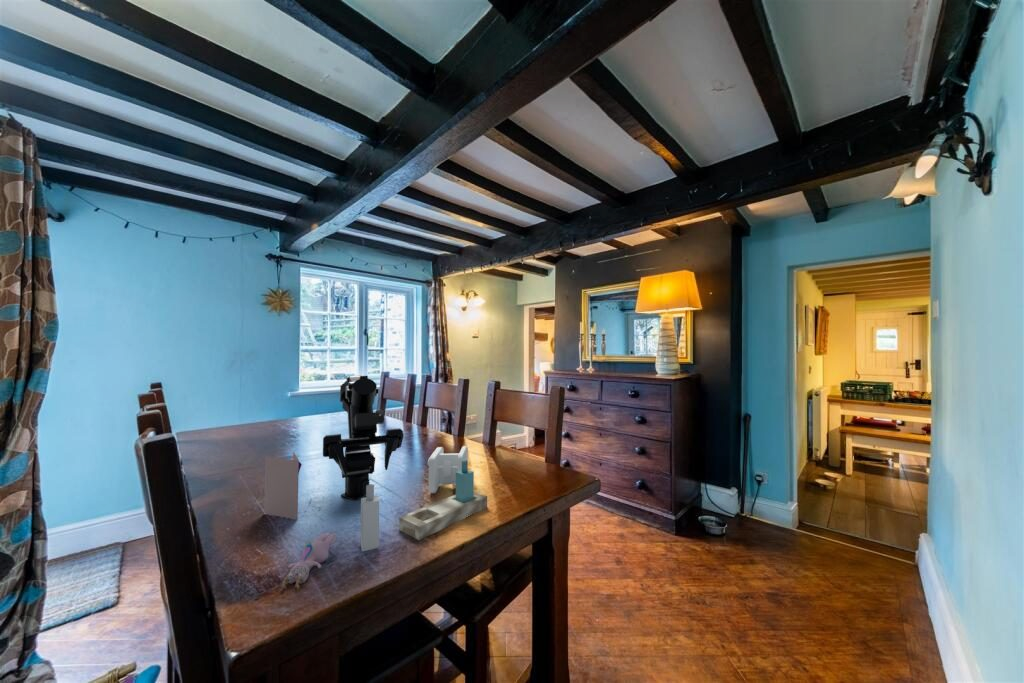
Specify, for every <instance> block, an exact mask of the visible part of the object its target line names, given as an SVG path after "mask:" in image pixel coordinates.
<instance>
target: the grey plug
mask: <svg viewBox="0 0 1024 683" xmlns="http://www.w3.org/2000/svg"><path fill="white" fill-rule="evenodd" d="M360 547H361V548H360V550H361V552H362V553H363V552H366V551H371V550H374V549H380V499H379V497H378V495H375V484H372V483H369V485H367V486H366V497H365V496H364V497H361V498H360Z"/></svg>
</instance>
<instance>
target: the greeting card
mask: <svg viewBox="0 0 1024 683" xmlns="http://www.w3.org/2000/svg"><path fill="white" fill-rule="evenodd" d="M264 460H265V461H264V464H265V466H264V467H265V470H264V502H263V503H264V504H263V508H264V510H263V511H264V512H263V514H264V513H266V514H271V515H276V516H275V517H277V516H281V517H280V518H283V517H286V518H285V519H288V518H292V519H291V520H294V519H297V520H296V521H298V517H299V516H298V514H299V513H298V512H299V474H300V471H301V468H302V465H303V464H302V463H301V462H300V460H299V458H298V457H297V455H296V454H295V452H294V451H292V459H290V458H281V457H273V456H272V457H271V456H265V459H264ZM271 515H270V516H271Z"/></svg>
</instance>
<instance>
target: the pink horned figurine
mask: <svg viewBox="0 0 1024 683" xmlns="http://www.w3.org/2000/svg"><path fill="white" fill-rule="evenodd" d="M337 535H338V533H336V532H335V533H332V534H330V533H329V532H327V533H322V534H318V535H317V536H316V538H314V540H313V541H312V542H307V543H306V544H305V547H304V549H303V551H302V555H301V559H300V561H298V562H294V563H292V564H289V565H288V566H287V567H288V569H290V570H289V572H288V574H287V575H286V576H285V577H284V580H282V584H281V588H280V589H283V590H284V589H285V588H287V586H286V581H287V583H288V584H291V585H292V584H294V583H295V586H294V587H293V589H295V588H296V589H298V590H299V589H300V584H304V583H306V581H307V580H308V578H309V576H310V570H312V568H313V567H317V568H318V569H321V568H322V564H321V563H323V562H324V561H326V559H327V558H329V549H330V547H331V546H332V545H333V544H334V541H336V537H337Z"/></svg>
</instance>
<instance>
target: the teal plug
mask: <svg viewBox="0 0 1024 683" xmlns="http://www.w3.org/2000/svg"><path fill="white" fill-rule="evenodd" d="M468 461H469V459H468V460H462V470H461V471H458V472H456V486H455V495H456V501H459V502H462V503H467V502H469V501H471V500H474V492H475V490H474V485H475V483H474V482H475V481H474V479H475V478H474V477H475V476H474V475H475V474H474V471H472V470H468V469H469V468H468V467H469V466H468Z"/></svg>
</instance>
